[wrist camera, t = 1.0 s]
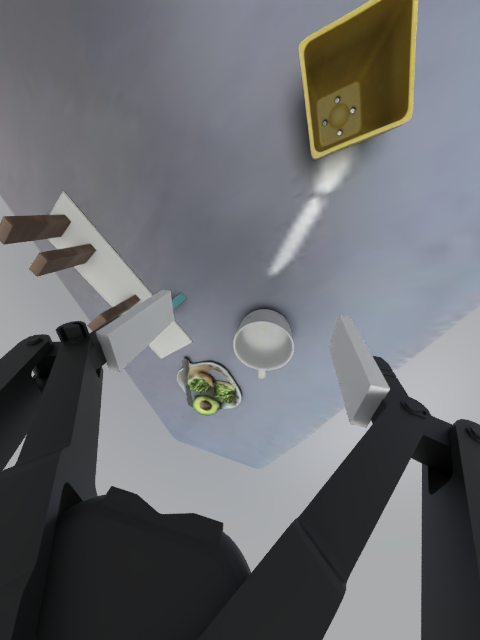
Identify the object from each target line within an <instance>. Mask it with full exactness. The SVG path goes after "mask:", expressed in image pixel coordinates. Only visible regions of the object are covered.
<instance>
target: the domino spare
mask: <svg viewBox="0 0 480 640" xmlns="http://www.w3.org/2000/svg"><path fill="white" fill-rule="evenodd" d="M185 299H186V297H185V296H184V294H183V293H180V294H179V295H177V296H176V297H175V298H173V299H172V305H173V310H174V309H175V308H176V307H177V306H178V305H180V304H181V303H182V302H183V301H184V300H185Z"/></svg>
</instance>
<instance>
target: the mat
mask: <svg viewBox="0 0 480 640" xmlns="http://www.w3.org/2000/svg"><path fill="white" fill-rule="evenodd" d="M50 215H66V216H67V217H68V218H69V220H70V221H71V223H70V225H69V226H68V228H67V229H66V231H65V232H64V234H63V235H62V237H57V238H49V239H48V240H49V241H50V242H51V243H52V244H53V245H54V246H55V247H56V248H57V249H63V248H69V247H74V246H80V245H85V244H92V246H93V247H94V248H95V249H96V252H95V253H94V254H93V255H92V256H91V257H90V259H89V260H88V261H87V262H86V263H85V264H81V265H77V266H74V267H75V268H76V269H77V270H78V271H79V272H80V274H81V275H82V276H83V277H84V278H85V279H86V280H87V281H88V282H89V283H90V284H91V285H92V286H93V287H94V288H95V289H96V290H97V291H98V292H99V294H100V295H101V296H102V297H103V298H104V299H105V300H106V301H107V302H108V303H109V304H110V305H111V306H112V307H114V306H116V305H118V304H119V303H121V302H123V301H125V300H126V299H128V298H130V297H132V296H134V295H135V294H136V295H137V296H138V297H139V299H140V301H139V302H138V303H136V304H135V305H134V306H133V307H131V308H130V309H129V310H127V311H126V312H128V311H130V310H131V309H133V308H134V307H136V306H137V305H139V304H141V303H142V302H144V301H145V300H147V299H148V298H150V297H152V296H153V294H152V293H151V292H150V291H149V290H148V288H147V287H146V286H145V285H144V284H143V283H142V281H141V280H140V279H139V278H138V277H137V276H136V274H135V273H134V272H133V271H132V270H131V268H130V267H129V266H128V265H127V264H126V263H125V261H124V260H123V259H122V258H121V257H120V256H119V254H118V253H117V252H116V251H115V250H114V249H113V247H112V246H111V245H110V244H109V243H108V242H107V240H106V239H105V238H104V237H103V236H102V235H101V233H100V232H99V231H98V230H97V229H96V228H95V226H94V225H93V224H92V223H91V222H90V221H89V219H88V218H87V217H86V216H85V215H84V214H83V212H82V211H81V210H80V209H79V208H78V207H77V205H76V204H75V203H74V202H73V201H72V200H71V198H70V197H69V196H68V195H67V194H66V193H65V192H64V191H63V192H62V194H61V196H60V198H59V199H58V201H57V203H56V204H55V206H54V208H53V209H52V211H51V213H50ZM126 312H124V313H122V314H121V315H123V314H125V313H126ZM191 342H193V341H192V340H191V339H190V337H189V336H188V335H187V334H186V333H185V332H184V330H183V329H182V328H181V327H180V326H179V325H178V323H177V322H176V321H175V320H174V321H173V322H172V323H171V324H170V325H169V326H168V327H167V328H166V329H164V330H163V331H162V332H161V333H160V334H159V335H158V336H157V337H156V338H155V339H154V340H153V341H152V342H151V343H150V344H149V346H150V347H151V348H152V349H153V350H154V351H155V353H156V354H157V355H158V356H159V357H160V358H163V357H165V356H167V355H169V354H171V353H173V352H175V351H176V350H178V349H180V348H182V347H184V346H186V345H188V344H189V343H191Z"/></svg>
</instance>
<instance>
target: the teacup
mask: <svg viewBox="0 0 480 640" xmlns="http://www.w3.org/2000/svg"><path fill="white" fill-rule="evenodd" d="M233 348H234V351H235V354H236V356H237V357H238V359H239V360H240V361H241V362H242V363H244V364H245V365H247V366H249V367H251V368H254V369H257V370H258V377H259V378H260V379H265V378H266V372H267V370H274V369H278V368H280V367H282V366H284V365H285V364H287V363H288V362H289V361H290V359H291V357H292V356H293V353H294V342H293V338H292V332H291V328H290V326H289V323H288V322H287V320H286V319H285V318H284V317H283V316H282V315H281V314H279V313H277V312H275V311H272V310H268V309H261V310H256V311H253V312H251V313H249V314H248V315H247V316H246V317H245V318H244V319H243V320H242V322H241V324H240V326H239V328H238V330H237V333H236V335H235V337H234V340H233Z"/></svg>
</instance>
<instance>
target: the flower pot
mask: <svg viewBox="0 0 480 640" xmlns="http://www.w3.org/2000/svg"><path fill="white" fill-rule="evenodd" d="M417 15H418V0H369V1H368V2H366V3H365V4H363V5H361V6H360V7H358V8H357V9H355V10H353V11H352V12H350V13H348V14H346V15H345V16H343V17H341V18H339V19H338V20H336V21H334V22H332V23H330V24H329V25H327V26H325V27H323V28H322V29H320V30H318V31H317V32H314V33H313V34H311V35H309V36H308V37H306V38H305V39H304V40H303V41H302V42H301V43H300V44H299V48H298V52H299V60H300V68H301V75H302V83H303V91H304V99H305V107H306V116H307V124H308V132H309V140H310V150H311V156H312V159H313V160H318V159H321V158H323V157H325V156H328V155H330V154H332V153H335V152H337V151H340V150H342V149H345V148H347V147H350V146H353V145H355V144H358V143H360V142H363V141H365V140H368V139H371V138H373V137H376V136H379V135H381V134H383V133H386V132H388V131H390V130H392V129H394V128H396V127H399V126H401V125H403V124H404V123H406V122H408V121H409V120H410V119H411V117H412V114H413V103H414V76H415V52H416V32H417ZM337 97H339V98H340V101H339V102H338V103H335V99H336V98H337ZM353 107H354V108H355V112H354V113H353V114H352V113H351V112H350V110H351V108H353ZM324 120H327V125H326V126H323V121H324ZM339 130H341V131H342V134H341V135H340V136H338V135H337V132H338V131H339Z"/></svg>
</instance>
